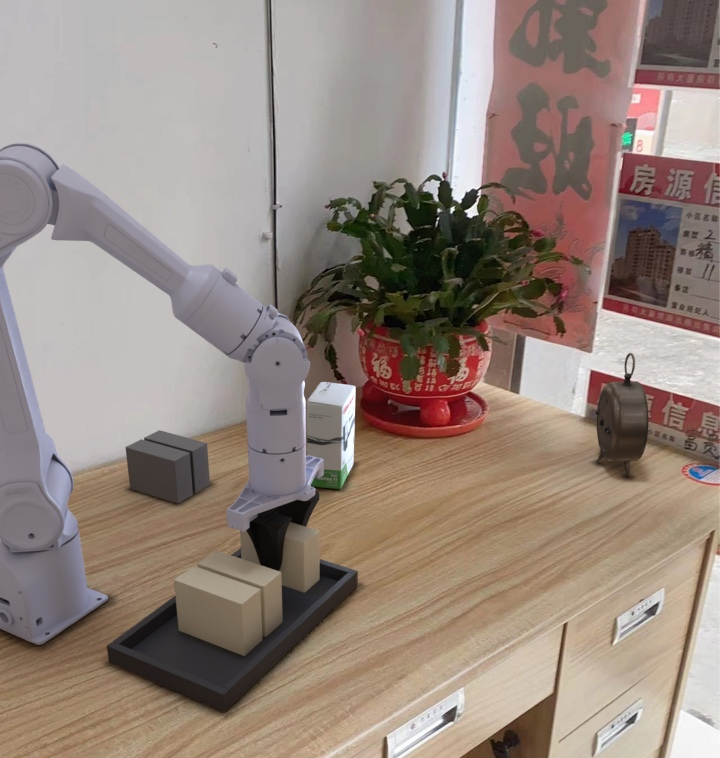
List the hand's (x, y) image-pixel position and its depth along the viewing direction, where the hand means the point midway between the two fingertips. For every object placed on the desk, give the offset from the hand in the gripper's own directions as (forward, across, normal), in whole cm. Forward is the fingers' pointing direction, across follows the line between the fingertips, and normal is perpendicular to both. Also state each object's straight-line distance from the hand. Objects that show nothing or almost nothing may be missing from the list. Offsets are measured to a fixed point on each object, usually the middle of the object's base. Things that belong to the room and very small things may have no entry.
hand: (279, 560), depth 93 cm
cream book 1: (+3, -10, 0) cm, 11 cm away
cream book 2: (+3, -7, 0) cm, 8 cm away
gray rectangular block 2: (+4, +14, +26) cm, 30 cm away
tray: (+4, -7, 0) cm, 8 cm away
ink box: (+4, +27, +10) cm, 29 cm away
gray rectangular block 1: (+4, +11, +26) cm, 28 cm away
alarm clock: (+4, +51, -22) cm, 56 cm away
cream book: (+2, 0, 0) cm, 2 cm away
